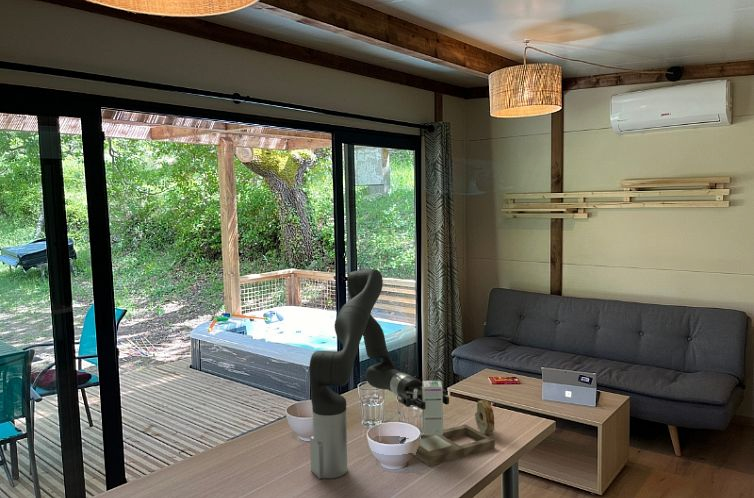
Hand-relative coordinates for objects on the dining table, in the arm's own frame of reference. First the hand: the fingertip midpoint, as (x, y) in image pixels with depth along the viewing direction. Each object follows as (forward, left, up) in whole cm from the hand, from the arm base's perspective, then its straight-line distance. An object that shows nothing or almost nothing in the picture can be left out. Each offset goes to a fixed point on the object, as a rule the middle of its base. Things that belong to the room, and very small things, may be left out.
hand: (436, 403), depth 164 cm
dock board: (+5, +2, -15) cm, 16 cm away
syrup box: (0, +2, -9) cm, 9 cm away
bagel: (+23, +6, -15) cm, 28 cm away
